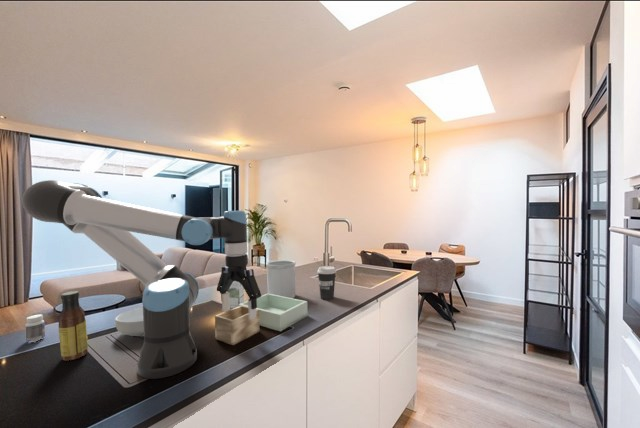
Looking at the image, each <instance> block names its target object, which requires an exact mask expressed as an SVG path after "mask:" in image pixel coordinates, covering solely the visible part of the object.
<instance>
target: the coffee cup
mask: <svg viewBox="0 0 640 428" xmlns="http://www.w3.org/2000/svg"><path fill="white" fill-rule="evenodd" d="M316 273H317V275H318V287H319V297H320V299H321V300H324V301H331V300H333V299H334V297H335V286H336V274H337V269H336V268H335V267H334V266H333V265H331V266H330V265H324V266H323V265H322V266H319V267H318V269H317V271H316Z"/></svg>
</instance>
